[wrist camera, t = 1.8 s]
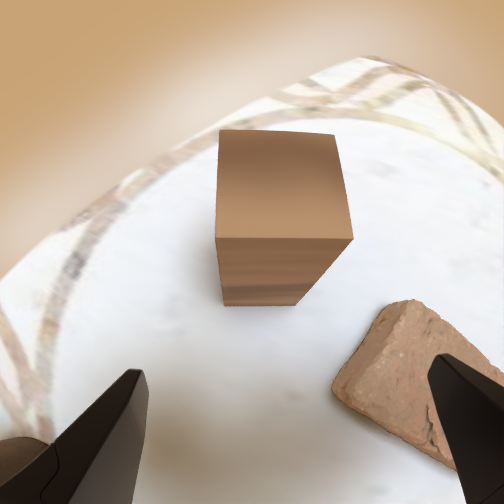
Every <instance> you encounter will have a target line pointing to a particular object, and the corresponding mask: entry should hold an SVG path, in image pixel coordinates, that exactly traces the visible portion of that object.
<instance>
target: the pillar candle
mask: <svg viewBox="0 0 504 504" xmlns="http://www.w3.org/2000/svg"><path fill="white" fill-rule="evenodd" d="M47 447H48V445H47V444H45V443H43V442H41V441H39V440H36V439H33V438H29V437H17V438H12V439H7V440H1V441H0V486H1V485H2V484H3V483H5V482H6V481H7V480H9V479H10V478H11V477H13V476H14V475H15V474H17V473H18V472H19V471H21V470H22V469H23V468H25V467H26V466H27V465H28V464H29V463H31V462H32V461H33V460H34V459H35V458H37V457H38V456H39V455H40V454H41V453H42V452H43V451H44V450H45V449H46V448H47Z"/></svg>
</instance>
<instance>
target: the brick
mask: <svg viewBox="0 0 504 504" xmlns="http://www.w3.org/2000/svg"><path fill="white" fill-rule="evenodd" d="M442 353H449V354H450V355H452V356H454V357H455V358H457V359H459V360H460V361H462V362H464V363H465V364H467V365H469V366H470V367H472V368H474V369H475V370H477V371H479V372H480V373H482V374H484V375H485V376H487V377H489V378H490V379H492V380H494V381H495V382H497V383H499V384H500V385H502V386H503V387H504V373H502V372H501V371H500V369H498V368H497V367H495V366H493V365H491V364H490V362H489V360H488V359H487V358H486V357H485V356H484V355H483V354H482V353H481V352H480V351H479V350H478V349H477V348H476V347H475V346H474V345H472V344H471V343H470V342H469V341H468V340H467V339H466V338H465V337H464V336H463V335H462V334H461V333H459V332H458V331H457V330H456V329H455V328H454V327H453V326H452V325H451V324H449V323H448V322H447V321H445V320H442V319H441V318H440V315H438V314H437V313H436V312H434V311H433V310H431V309H429V308H427V307H426V306H425V305H424V304H423V303H422V302H419V301H416V300H415V299H412V300H409V301H408V300H405V301H400V302H395V303H392V304H389V305H387V306H386V308H385V309H384V310H383V311H382V312H381V313H380V314H379V316H378V318H376V319H375V320H374V321H373V322H372V324H371V327H370V329H369V333H368V334H367V335H366V338H365V339H364V340H363V342H362V344H361V345H360V346H359V348H358V350H357V351H356V353H354V354H353V355H352V356H351V358H350V360H349V361H347V362H346V363H345V364H344V365H343V367H342V368H341V369H340V371H339V373H338V375H337V376H336V378H335V379H334V381H333V385H332V392H333V393H334V394H335V395H336V397H337V398H338V399H340V400H341V401H343V402H344V403H345V404H346V405H347V406H349V407H351V408H353V409H354V410H356V411H357V412H359V413H361V414H362V415H365V416H367V417H369V418H371V419H372V420H373V421H375V422H376V423H377V424H379V425H381V426H382V427H384V428H385V429H386V430H387V431H388V432H391V433H393V434H396V435H398V436H399V437H401V438H402V439H403V440H404V441H406V442H408V443H410V444H412V445H413V446H415V447H416V448H418V449H419V450H421V451H423V452H425V453H426V454H428V455H429V456H431V457H432V458H434V459H437V460H439V461H440V462H442V463H444V464H445V465H447V466H449V467H451V468H453V469H455V470H456V467H455V464H454V460H453V457H452V454H451V451H450V449H449V446H448V443H447V440H446V437H445V434H444V432H443V429H442V426H441V423H440V421H439V418H438V415H437V411H436V408H435V404H434V400H433V397H432V393H431V390H430V386H429V383H428V379H427V373H428V370H429V368H430V366H431V364H432V362H433V360H434V358H435V356H436V355H437V354H442ZM456 471H457V470H456Z"/></svg>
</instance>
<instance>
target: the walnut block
mask: <svg viewBox="0 0 504 504" xmlns="http://www.w3.org/2000/svg"><path fill="white" fill-rule="evenodd" d="M353 239H354V238H353V232H352V225H351V219H350V213H349V207H348V201H347V195H346V190H345V184H344V179H343V174H342V169H341V164H340V159H339V154H338V149H337V145H336V140H335V136H334V135H331V134H319V133H306V132H290V131H267V130H220V131H219V149H218V169H217V192H216V219H215V242H216V250H217V257H218V264H219V272H220V279H221V286H222V293H223V300H224V306H295V305H296V304H297V303H298V302H299V301H300V300H301V299H302V297H303V296H304V295H305V294H306V293H307V292H308V291H309V290H310V289H311V287H312V286H313V285H314V284H315V283H316V282H317V281H318V280H319V278H320V277H321V276H322V275H323V274H324V273H325V272H326V270H327V269H328V268H329V267H330V266H331V265H332V263H333V262H334V261H335V260H336V259H337V258H338V256H339V255H340V254H341V253H342V252H343V251H344V249H345V248H346V247H347V246H348V245H349V243H350V242H351V241H352V240H353Z"/></svg>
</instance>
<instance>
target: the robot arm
mask: <svg viewBox="0 0 504 504" xmlns="http://www.w3.org/2000/svg"><path fill="white" fill-rule="evenodd" d="M427 379H428V383H429V386H430V390H431V393H432V397H433V400H434V404H435V408H436V411H437V415H438V418H439V421H440V423H441V426H442V429H443V432H444V434H445V437H446V440H447V443H448V446H449V449H450V451H451V454H452V457H453V460H454V464H455V467H456V470H457V473H458V476H459V479H460V483H461V486H462V489H463V493H464V496H465V500H466V504H504V387H503V386H502V385H500V384H499V383H497V382H495V381H494V380H492V379H490V378H489V377H487V376H485V375H484V374H482V373H480V372H479V371H477V370H475V369H474V368H472V367H470V366H469V365H467V364H465V363H464V362H462V361H460V360H459V359H457V358H455V357H454V356H452V355H450V354H449V353H442V354H437V355H436V356H435V358H434V360H433V362H432V364H431V366H430V368H429V370H428V373H427ZM148 397H149V390H148V386H147V382H146V379H145V375H144V372H143V370H141V369H128V370H127V371H126V372H125V373H124V374H123V375H122V376H120V377H119V378H118V379H117V380H116V381H115V382H114V383H113V384H112V385H111V386H110V387H109V388H108V389H107V390H106V391H105V392H104V393H103V394H102V395H101V396H100V397H99V398H98V399H97V400H96V401H95V402H94V403H93V404H92V405H91V406H90V407H89V408H88V409H87V410H85V411H84V412H83V413H82V414H81V415H80V416H79V417H78V418H77V419H76V420H75V421H74V422H73V423H72V424H71V425H70V426H69V427H68V428H67V429H66V430H65V431H64V432H63V433H62V434H61V435H60V436H59V437H58V438H57V439H56V440H55V441H54V443H51V444H50V445H49V446H48V447H47V448H46V449H45V450H44V451H43V452H42V453H41V454H40V455H39V456H38V457H37V458H35V459H34V460H33V461H32V462H31V463H29V464H28V465H27V466H26V467H25V468H23V469H22V470H21V471H19V472H18V473H17V474H15V475H14V476H13V477H11V478H10V479H9V480H7V481H6V482H5V483H3V484H2V485H1V486H0V504H132V500H133V494H134V489H135V484H136V478H137V473H138V468H139V463H140V459H141V454H142V449H143V444H144V438H145V427H146V416H147V406H148Z"/></svg>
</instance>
